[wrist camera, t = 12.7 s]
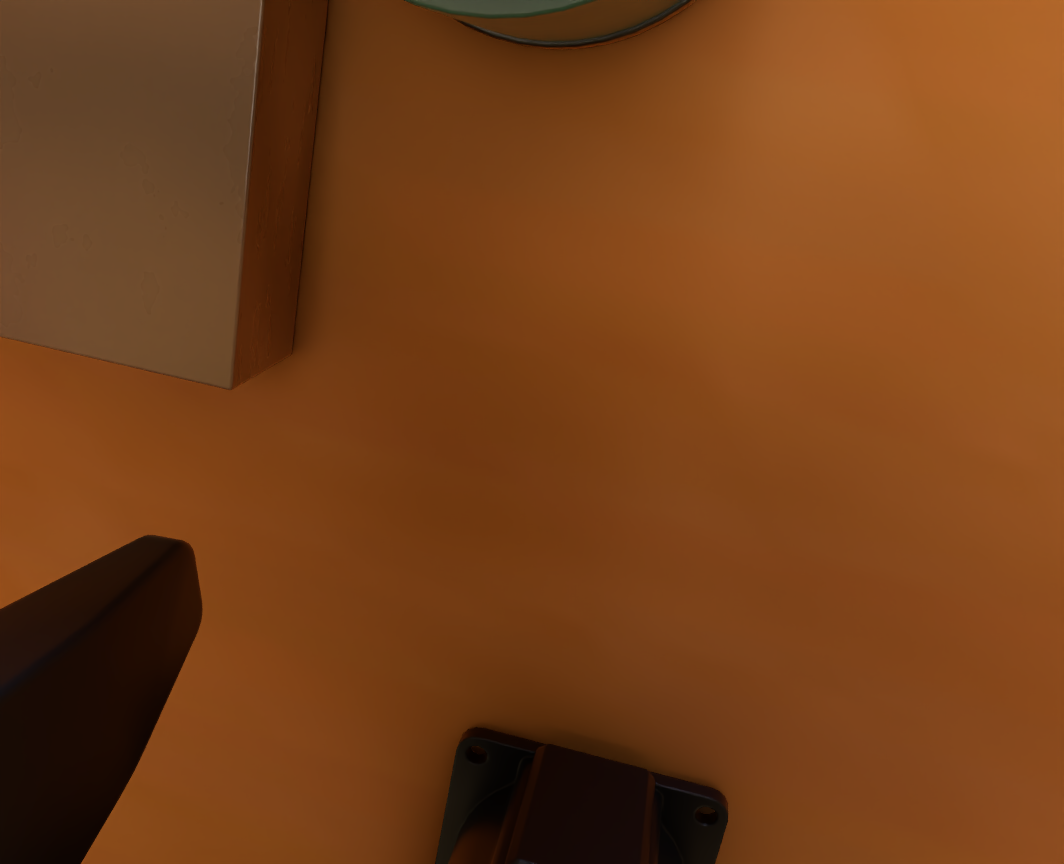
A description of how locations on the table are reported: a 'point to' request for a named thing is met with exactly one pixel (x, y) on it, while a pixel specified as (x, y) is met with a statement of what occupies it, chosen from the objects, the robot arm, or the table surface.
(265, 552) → the table surface
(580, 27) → the green cylinder
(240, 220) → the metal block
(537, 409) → the table surface
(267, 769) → the table surface
